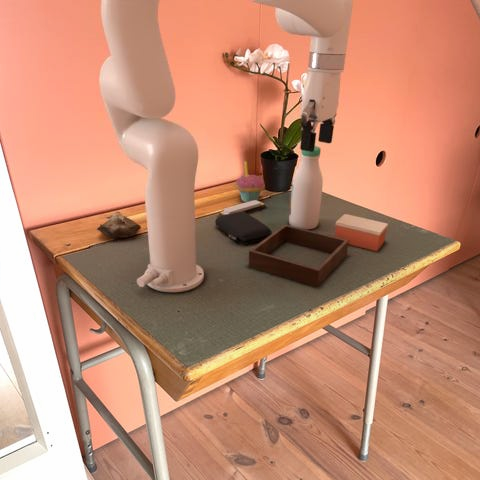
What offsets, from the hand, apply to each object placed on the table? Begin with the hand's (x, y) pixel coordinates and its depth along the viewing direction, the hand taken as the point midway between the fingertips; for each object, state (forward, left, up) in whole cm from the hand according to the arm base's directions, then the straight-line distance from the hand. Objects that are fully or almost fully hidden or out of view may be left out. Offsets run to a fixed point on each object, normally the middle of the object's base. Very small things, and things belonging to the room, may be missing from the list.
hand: (316, 146), depth 114 cm
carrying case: (-8, +15, -22) cm, 28 cm away
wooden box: (-14, -4, -22) cm, 27 cm away
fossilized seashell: (-26, +39, -22) cm, 52 cm away
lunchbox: (+4, -13, -22) cm, 26 cm away
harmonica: (+4, +21, -22) cm, 31 cm away
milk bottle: (+6, +4, -22) cm, 23 cm away
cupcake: (+14, +25, -22) cm, 36 cm away
